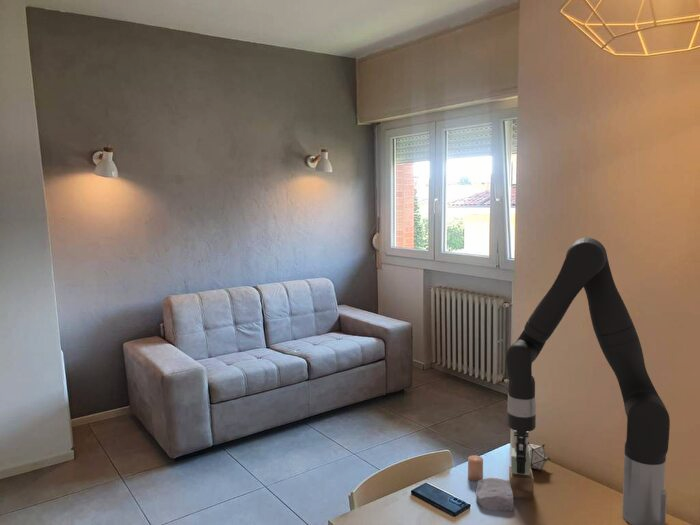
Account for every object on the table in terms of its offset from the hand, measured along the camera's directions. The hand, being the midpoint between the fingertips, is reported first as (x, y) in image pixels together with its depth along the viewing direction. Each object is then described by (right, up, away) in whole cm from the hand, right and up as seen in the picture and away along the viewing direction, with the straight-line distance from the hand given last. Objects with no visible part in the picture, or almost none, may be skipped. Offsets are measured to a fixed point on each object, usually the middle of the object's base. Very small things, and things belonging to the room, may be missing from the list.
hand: (520, 468), depth 151 cm
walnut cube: (0, -7, +1) cm, 8 cm away
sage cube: (0, 0, 0) cm, 1 cm away
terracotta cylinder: (-11, -7, +10) cm, 16 cm away
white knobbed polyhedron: (+9, -6, +14) cm, 17 cm away
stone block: (-8, -8, -1) cm, 12 cm away
